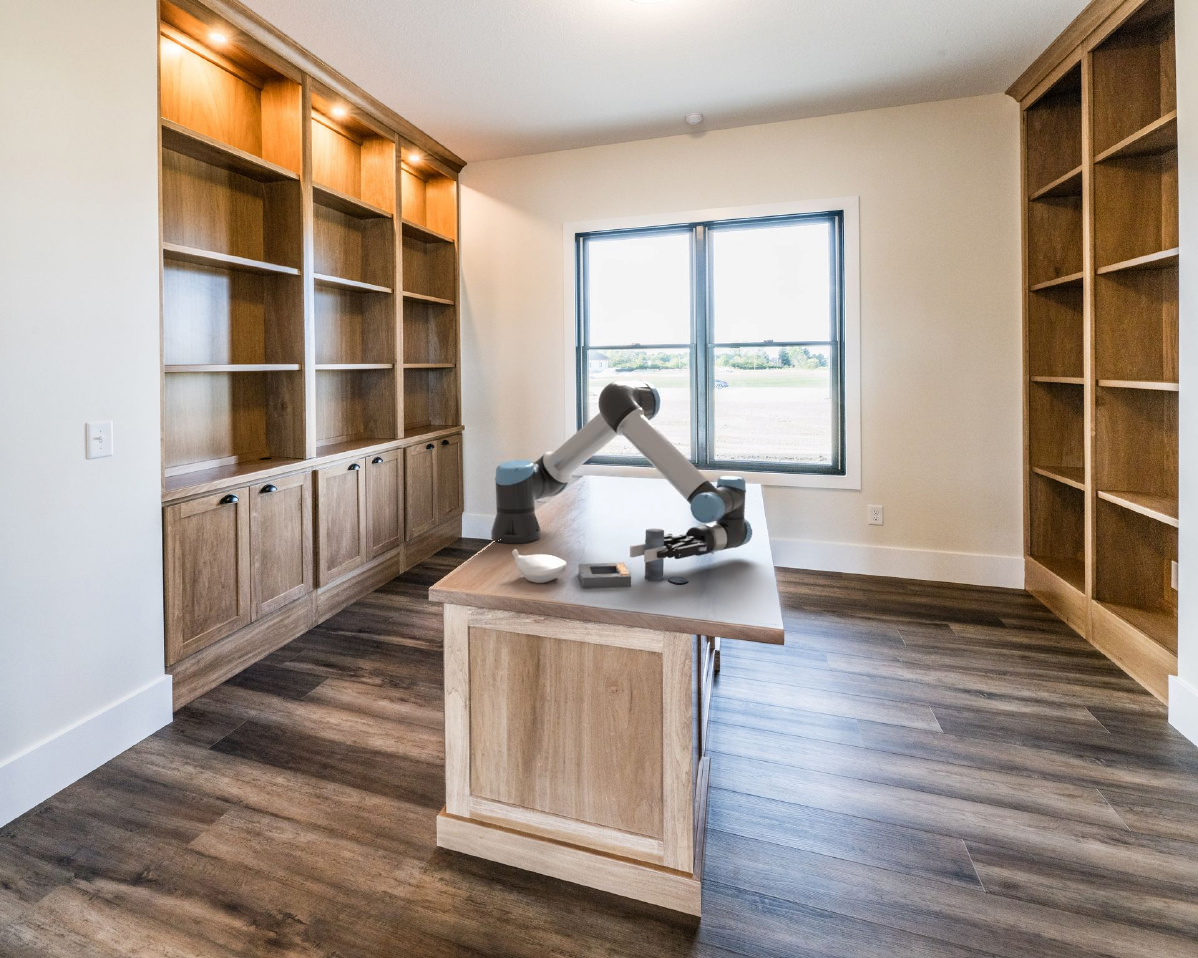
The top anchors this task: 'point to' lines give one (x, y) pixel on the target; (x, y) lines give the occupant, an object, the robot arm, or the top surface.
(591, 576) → the socket block
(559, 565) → the driver head
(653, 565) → the peg
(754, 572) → the top surface
